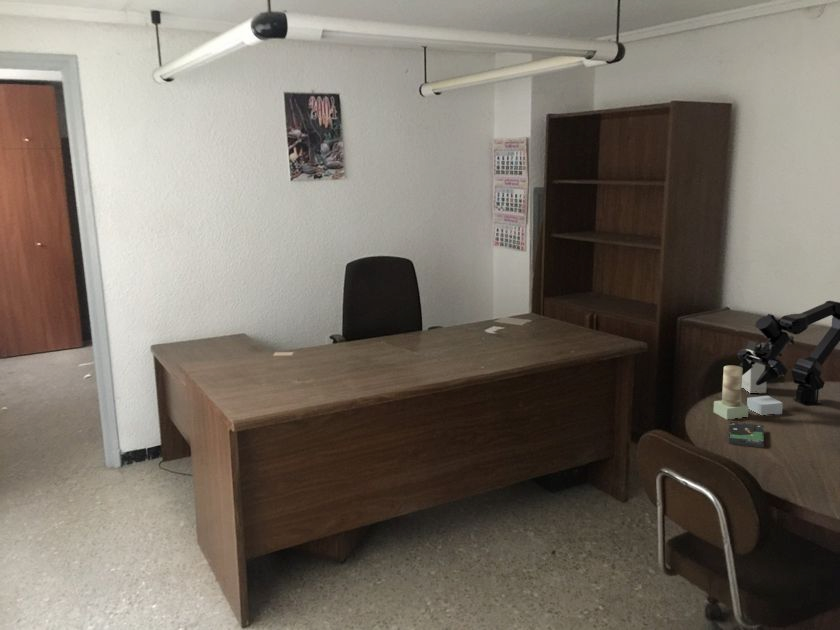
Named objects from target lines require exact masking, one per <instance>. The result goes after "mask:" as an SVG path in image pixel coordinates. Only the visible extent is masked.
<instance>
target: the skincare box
mask: <svg viewBox="0 0 840 630" xmlns="http://www.w3.org/2000/svg"><path fill="white" fill-rule="evenodd" d="M746 350H748V351H750V352H751V353H752V354H753V355H754V356H755V357H756V355H755V354H754V353H753V351H752V350H749V349H746ZM752 366H753V367H752V368H751V369H750V370H749V371H747V372H746V373H745V374H744V375H743V376H742V388H744V389H745V390H746V392H747V391H748V392H749V393H748V392H747V393H748V394H750V393H759V394H766V393H767V382H764V383H762V384H760V385H756V382H757V380H758V379H759V377H760V376H761V375H762V373H763V372H764V370H765V365H762V364H759V363H755V364H753V365H752ZM744 389H743V390H744ZM745 390H744V391H745Z"/></svg>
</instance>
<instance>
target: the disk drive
mask: <svg viewBox="0 0 840 630" xmlns="http://www.w3.org/2000/svg"><path fill="white" fill-rule="evenodd" d="M764 431H765V427H764V425H763V424H754V423H738V421H737V422H736V421H730V422H729V427H728V435H727V445H734V446H735V445H736V446H744V447H752V446H753V448H759V447H763V448H765V447H764V446H765V445H764V444H765V432H764Z"/></svg>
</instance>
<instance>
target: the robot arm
mask: <svg viewBox="0 0 840 630" xmlns="http://www.w3.org/2000/svg"><path fill="white" fill-rule="evenodd" d="M828 317H832V318H831V327H830V328H829V329H828V331H827V332H826V333H825V335H824V336H823V338H822V339H821V340H820V341H819V343H818V344H817V345H816V346H815V348H814V349H813V350H812V352H811V353H810V355H809V356H808V357H806V358H802V357H800V358H799V359H797V360H796V362H795V364H794V365H792V367H793V368H792V369H791V377H792V379H793V383H794V384H795V385H797V388H796V392H795V393H796V394H795V398H793V401H795V402H798V403H800V404H802V405H804V406H812V405H821V404H822V401H819V391H820V390H821V389H823V388H824V386H825V383H826V382H825V381H824V380H823V379H822V378H821V375H822V367H823V366H822V365H823V364H824V362H825V361H826V360H827V359H828V357H829V356H830V355H831V353H833V351H834V350H835V348H836V347H837V346H838V344H839V343H840V302H839V301H835V300H826V301H825V302H824V303H821V304H819V305H817V306H815V307H813V308H810V309H808V310H805V311H803V312H800V313H791V314H786V315H783V316H781V317H780V318H779V319H776V317H775V315H773V314H770V313H768V314H767V315H765V316H762V317H760V318H759V319H757V321H756V322H755V328H756V329H757V330H758V331H759V332H760V334H762V336H763V337H765V339H767V341H766V342H764V341H763V342H761V343H758V342H756V341H752V340H748V343H747V345H746V347H745V348H742V349H739V350H738V351H737V353H736V355H737V356H738V359H739V362H740V363H739V365H738V366H739V367H742V368H743V372H742V376H743V375H744V374H745V373H746V372H747V371H749V370H750V369H751V368H752V367H753V366H752V365H753V364H755V363H759V364H762V365H765V370H764V372H763V373H762V375H761V376H760V377H759V379H758V380H757V382H756V385H760V384H762V383H764V382H766V383H767V382H769V381H771V380H773V379H777V378H780V377H785V376H786V375H787V373H788V370H789V369H788V367H786V365H785V364H784V363H783V362H782V361H781V360H778V359H777V358H778V357H779V358H781V357H782V356H783V354H782V352H783V351H784V349H785V348H786V346H788V344H790V345H794V344H795V340H794V338H795V337H794V336H792V335H801V333H803V332H805V331H806V330H807V329H808V328H809V326H810V325H813V324H814V323H816V322H819V321H821V320H824V319H825V318H828ZM788 333H789V334H792V335H789V334H788ZM747 349H749V350H752V351H753V353H754V354H755V355H756V357H755V356H754V355H753V354H752V353H751V352H750V351H748V350H747Z"/></svg>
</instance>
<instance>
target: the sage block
mask: <svg viewBox="0 0 840 630" xmlns="http://www.w3.org/2000/svg"><path fill="white" fill-rule="evenodd" d="M712 412H713V413H714V414H715V415H718V416H720V417H721V418H723V419H725V420H728V419H729V420H736V419H735V418H738V419H743V418H742V417H747V418H749V406H747V404H745V403H743V402H741V405H740V406H737V407H730V406H725V405H723V404H722V399H721V400H714V401H713V411H712Z"/></svg>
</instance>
